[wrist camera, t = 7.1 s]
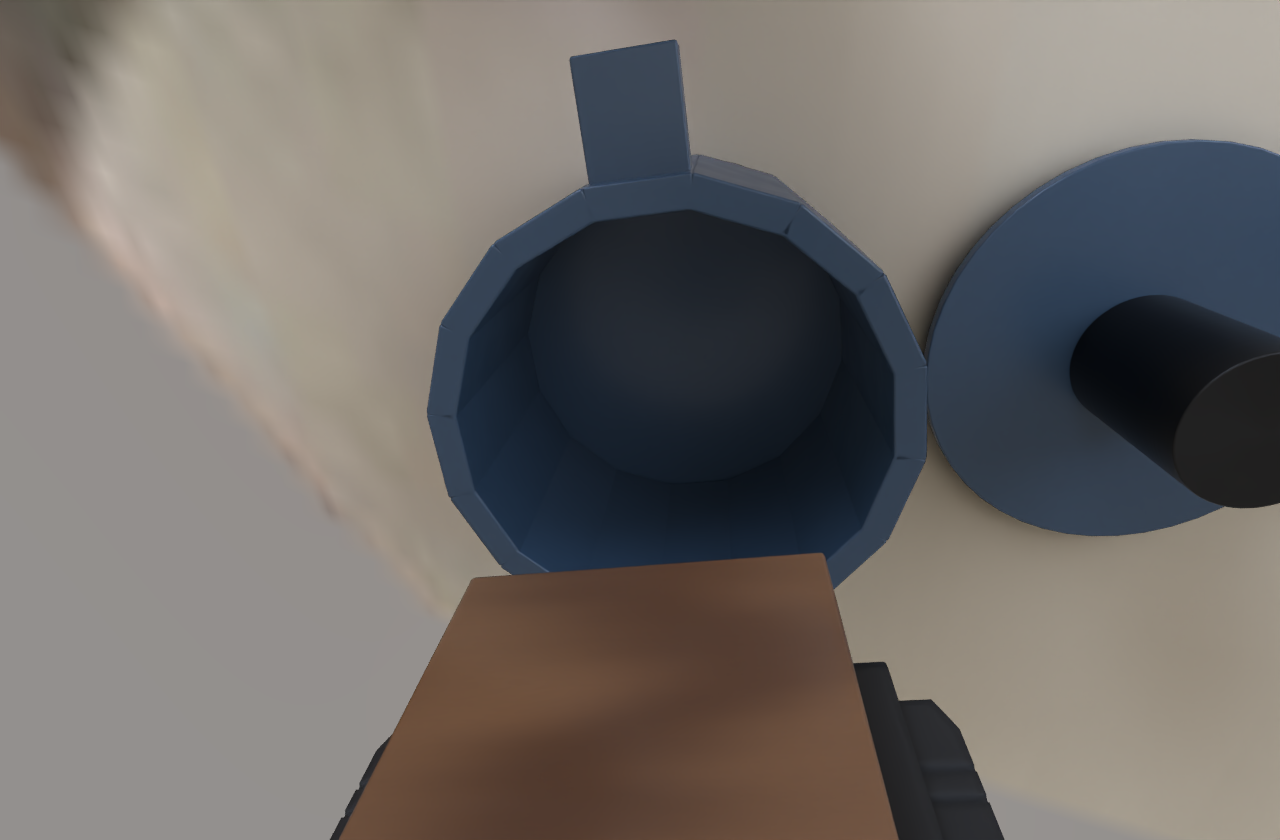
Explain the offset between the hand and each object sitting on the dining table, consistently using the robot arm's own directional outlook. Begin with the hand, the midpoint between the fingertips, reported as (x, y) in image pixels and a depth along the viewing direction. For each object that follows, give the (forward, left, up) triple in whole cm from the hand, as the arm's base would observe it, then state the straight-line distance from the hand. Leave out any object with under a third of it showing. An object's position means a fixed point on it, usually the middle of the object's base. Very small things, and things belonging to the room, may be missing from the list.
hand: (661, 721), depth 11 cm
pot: (0, -1, -17) cm, 17 cm away
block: (0, 0, 0) cm, 0 cm away
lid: (-15, +1, -17) cm, 22 cm away
